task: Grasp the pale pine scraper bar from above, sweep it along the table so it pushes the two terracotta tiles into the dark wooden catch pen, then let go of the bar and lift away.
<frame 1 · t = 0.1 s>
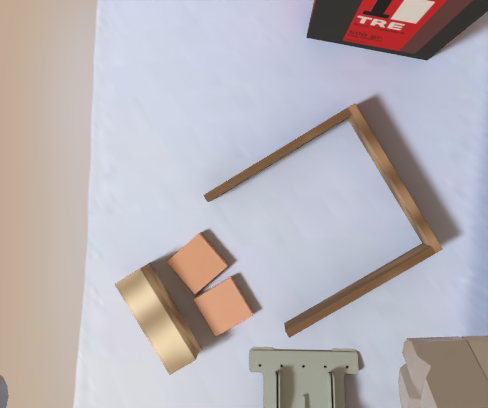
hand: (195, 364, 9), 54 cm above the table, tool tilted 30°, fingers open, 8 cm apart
scraper bar: (163, 311, 65), on the table
tile B: (198, 261, 64), on the table
cleaning product box: (372, 16, 62), on the table
catch pen: (315, 221, 63), on the table
tile A: (224, 304, 64), on the table
metal bracket: (302, 391, 64), on the table
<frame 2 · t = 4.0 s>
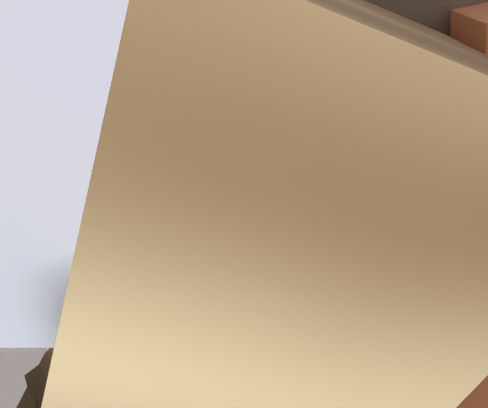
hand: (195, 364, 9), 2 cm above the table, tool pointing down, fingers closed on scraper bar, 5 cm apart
scraper bar: (202, 297, 11), on the table, touching gripper
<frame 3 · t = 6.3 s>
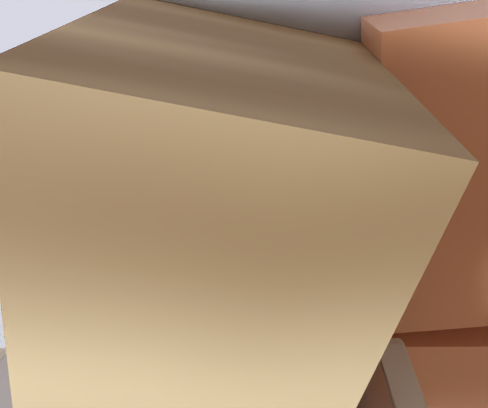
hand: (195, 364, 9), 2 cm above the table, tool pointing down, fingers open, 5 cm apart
scraper bar: (195, 311, 11), on the table, touching gripper
tile A: (431, 371, 13), on the table
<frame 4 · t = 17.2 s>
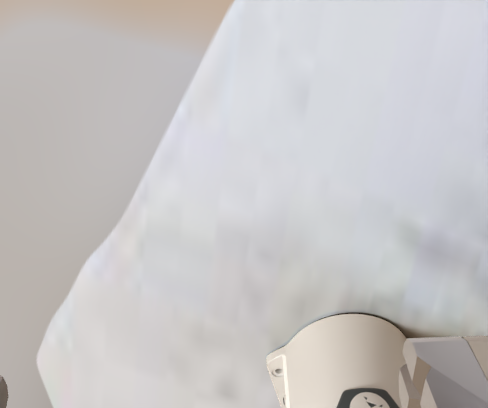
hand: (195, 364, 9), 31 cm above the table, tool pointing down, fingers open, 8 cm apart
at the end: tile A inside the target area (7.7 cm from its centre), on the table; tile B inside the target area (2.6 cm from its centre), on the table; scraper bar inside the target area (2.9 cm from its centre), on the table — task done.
